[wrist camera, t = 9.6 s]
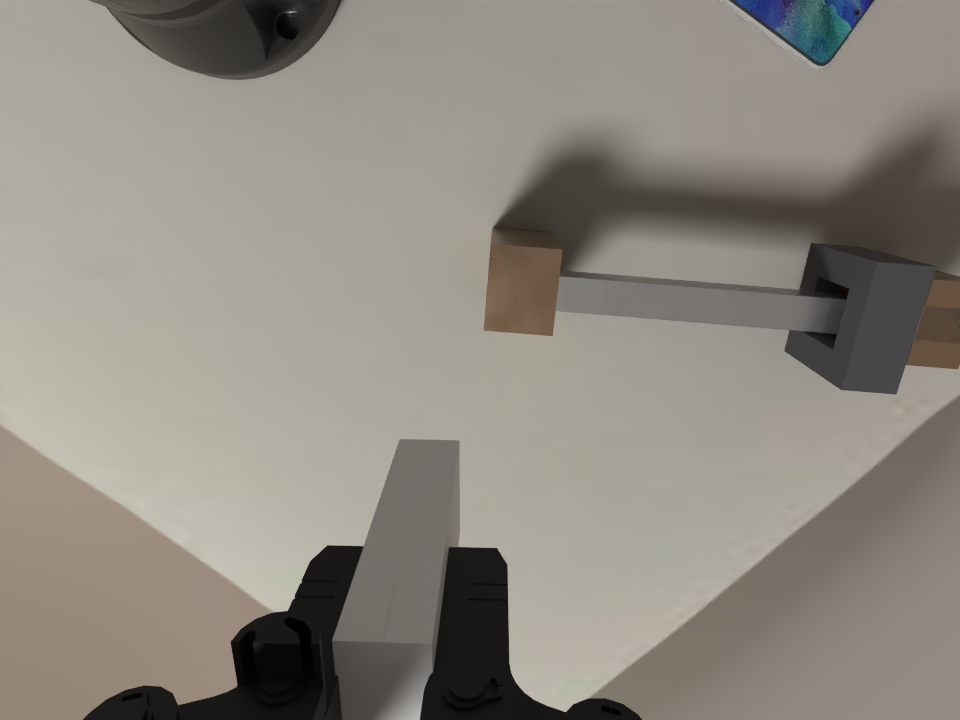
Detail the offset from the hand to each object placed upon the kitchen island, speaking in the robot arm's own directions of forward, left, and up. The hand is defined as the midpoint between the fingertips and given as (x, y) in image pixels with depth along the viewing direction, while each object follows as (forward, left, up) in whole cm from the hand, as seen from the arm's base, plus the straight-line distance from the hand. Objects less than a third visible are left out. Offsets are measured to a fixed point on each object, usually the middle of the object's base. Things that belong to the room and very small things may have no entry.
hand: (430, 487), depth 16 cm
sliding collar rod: (-1, +15, -28) cm, 32 cm away
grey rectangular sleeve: (-1, +22, -25) cm, 33 cm away
